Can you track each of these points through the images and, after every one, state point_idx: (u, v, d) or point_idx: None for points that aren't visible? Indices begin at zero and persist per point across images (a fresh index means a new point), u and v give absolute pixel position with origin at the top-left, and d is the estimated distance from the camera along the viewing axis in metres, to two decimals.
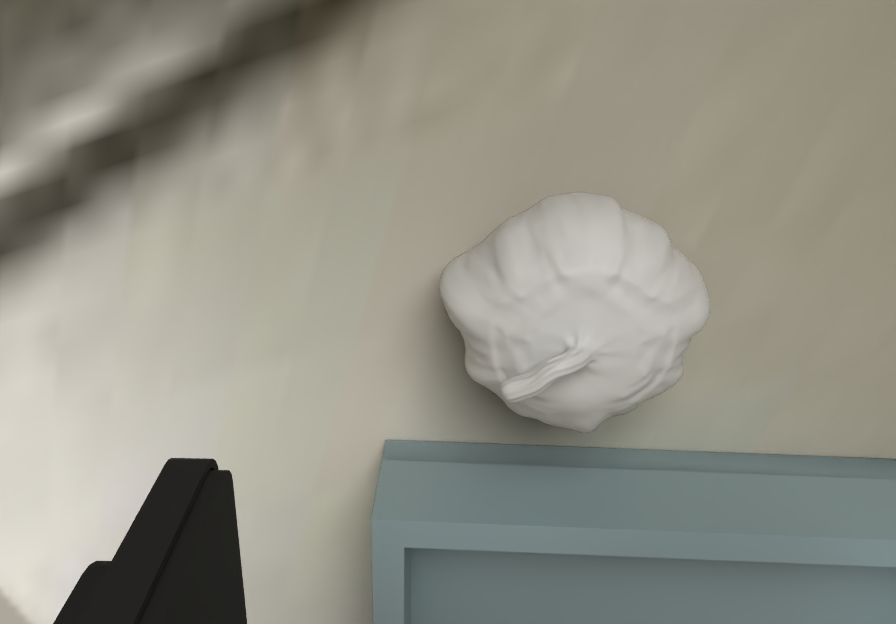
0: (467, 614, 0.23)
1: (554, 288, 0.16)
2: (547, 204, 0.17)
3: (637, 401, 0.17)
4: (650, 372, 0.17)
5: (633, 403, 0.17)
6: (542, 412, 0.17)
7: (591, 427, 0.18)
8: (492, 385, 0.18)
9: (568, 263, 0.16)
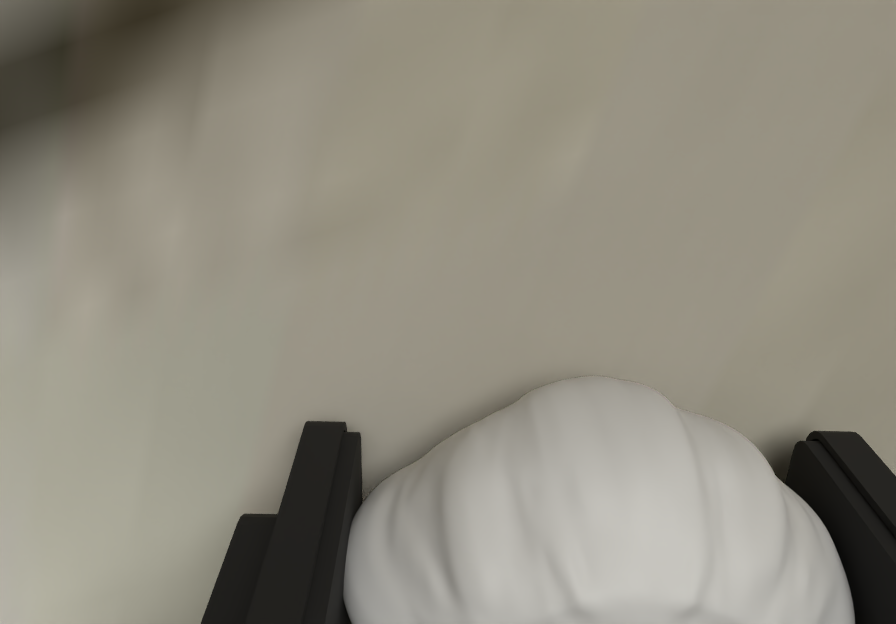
0: None
1: None
2: (542, 419, 0.09)
3: None
4: None
5: None
6: None
7: None
8: None
9: (593, 581, 0.08)
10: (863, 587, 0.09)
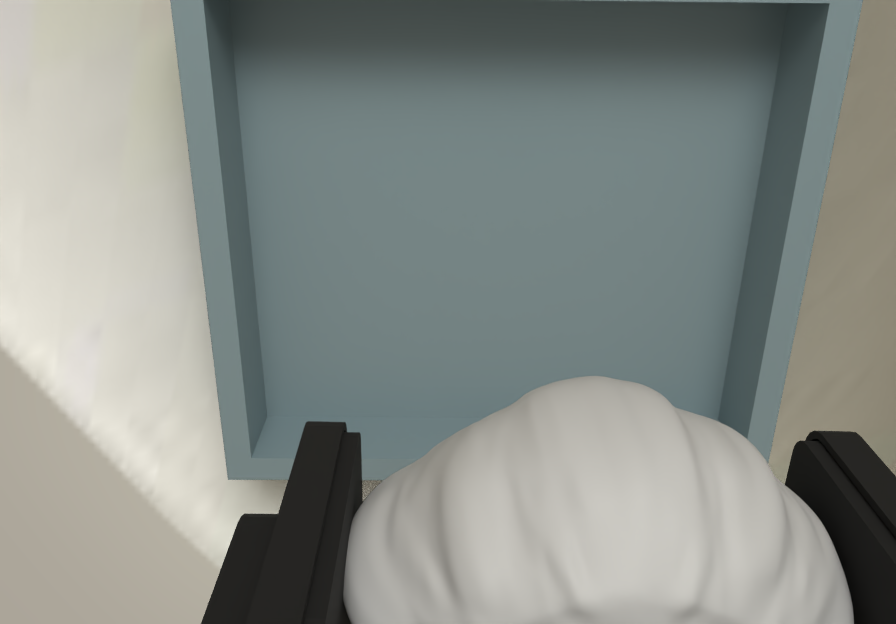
0: (299, 155, 0.24)
1: None
2: (541, 420, 0.09)
3: None
4: None
5: None
6: None
7: None
8: None
9: (592, 581, 0.08)
10: (863, 587, 0.09)
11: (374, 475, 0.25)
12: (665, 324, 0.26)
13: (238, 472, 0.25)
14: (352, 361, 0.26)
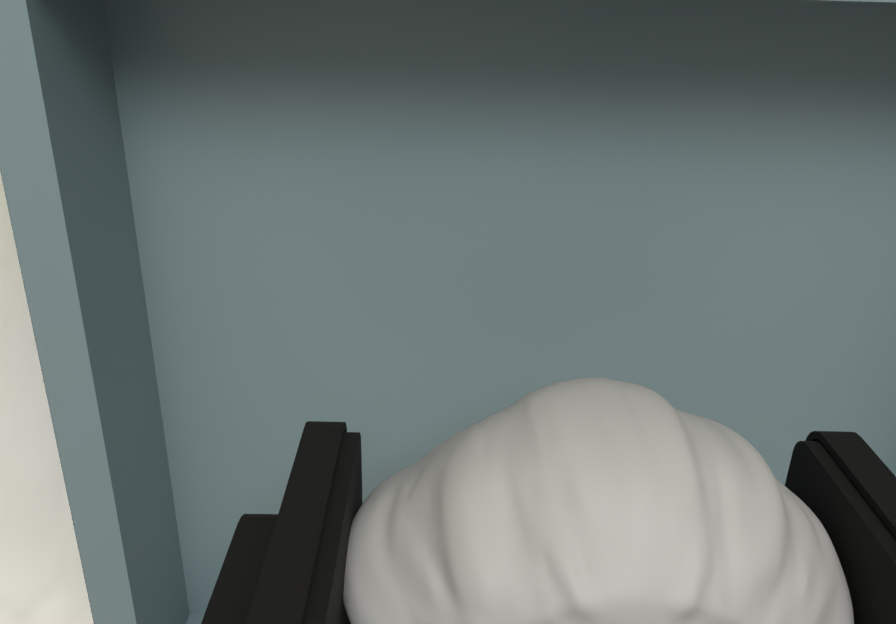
0: (229, 243, 0.15)
1: None
2: (541, 421, 0.09)
3: None
4: None
5: None
6: None
7: None
8: None
9: (592, 583, 0.08)
10: (863, 587, 0.09)
11: None
12: None
13: None
14: None
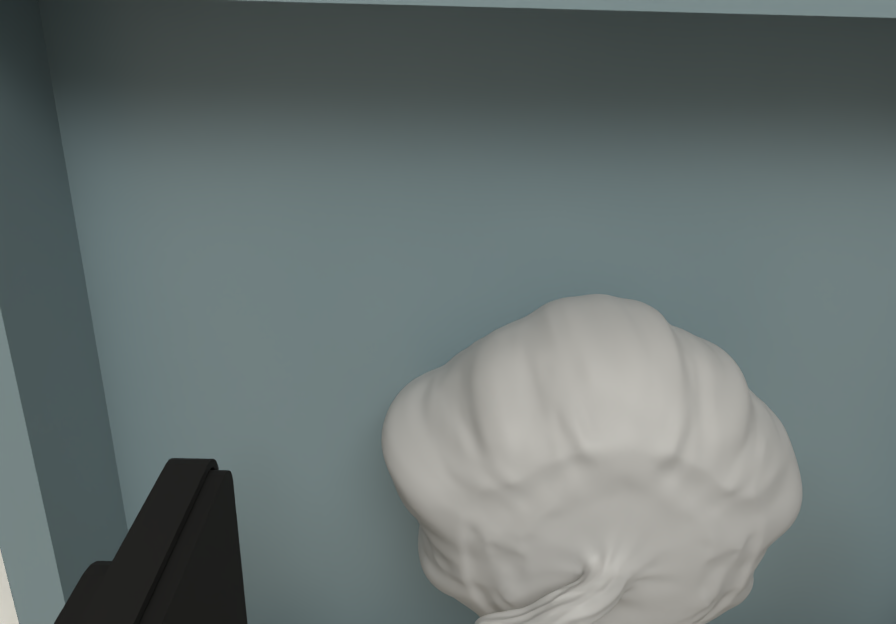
0: (188, 283, 0.13)
1: (569, 473, 0.10)
2: (555, 318, 0.11)
3: None
4: (715, 600, 0.10)
5: None
6: None
7: None
8: (459, 600, 0.11)
9: (594, 433, 0.10)
10: None
11: None
12: (816, 555, 0.15)
13: None
14: (290, 603, 0.16)
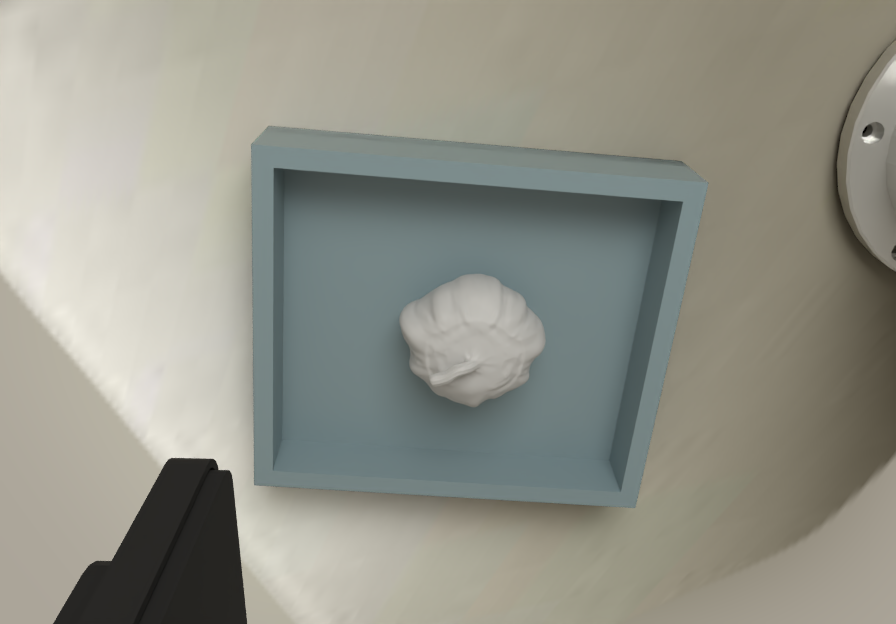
0: (323, 261, 0.34)
1: (461, 328, 0.30)
2: (462, 280, 0.32)
3: (501, 391, 0.32)
4: (509, 376, 0.31)
5: (499, 392, 0.32)
6: (450, 393, 0.32)
7: (476, 404, 0.32)
8: (424, 377, 0.32)
9: (470, 315, 0.30)
10: None
11: (360, 488, 0.35)
12: (574, 392, 0.36)
13: (262, 480, 0.35)
14: (348, 404, 0.36)
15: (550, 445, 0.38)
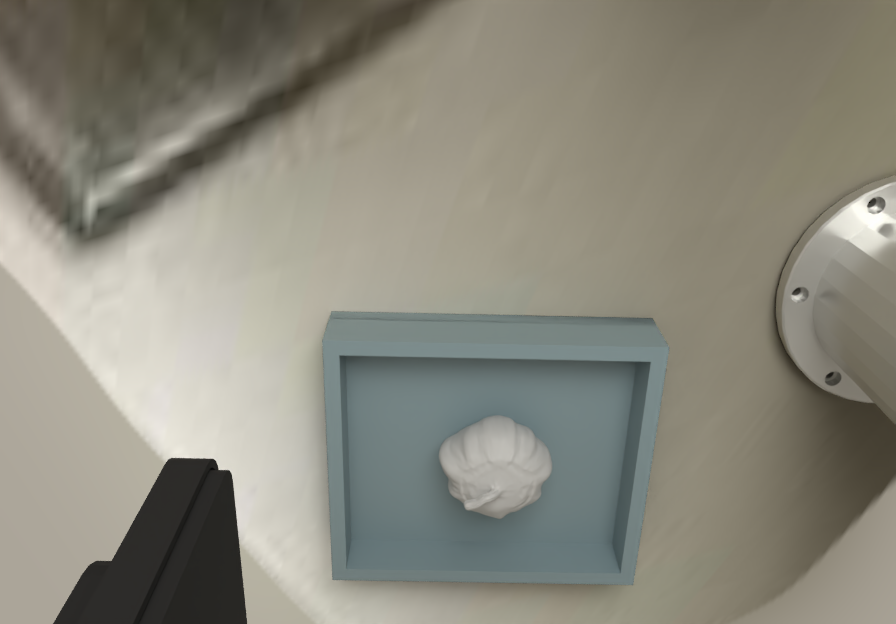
0: (378, 408, 0.43)
1: (486, 465, 0.40)
2: (485, 425, 0.41)
3: (520, 508, 0.41)
4: (525, 497, 0.41)
5: (518, 508, 0.41)
6: (480, 511, 0.41)
7: (501, 517, 0.42)
8: (459, 499, 0.41)
9: (492, 456, 0.40)
10: None
11: (414, 578, 0.45)
12: (579, 494, 0.46)
13: (338, 576, 0.45)
14: (401, 510, 0.46)
15: (563, 534, 0.47)
